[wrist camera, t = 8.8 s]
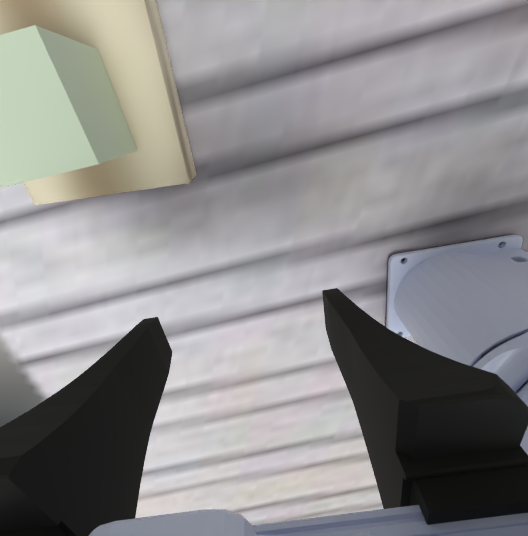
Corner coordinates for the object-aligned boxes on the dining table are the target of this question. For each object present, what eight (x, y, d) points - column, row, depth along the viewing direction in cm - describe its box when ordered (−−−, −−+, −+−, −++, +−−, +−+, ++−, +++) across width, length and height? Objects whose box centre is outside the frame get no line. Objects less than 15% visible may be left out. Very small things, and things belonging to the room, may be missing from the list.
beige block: (156, -7, 15) (136, -32, 13) (197, 173, 19) (189, 183, 17) (-13, 20, 16) (-68, 2, 13) (63, 192, 20) (34, 205, 17)
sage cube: (97, 49, 14) (35, 24, 10) (137, 150, 16) (98, 164, 12) (8, 73, 14) (-86, 59, 10) (59, 169, 16) (-4, 189, 12)
